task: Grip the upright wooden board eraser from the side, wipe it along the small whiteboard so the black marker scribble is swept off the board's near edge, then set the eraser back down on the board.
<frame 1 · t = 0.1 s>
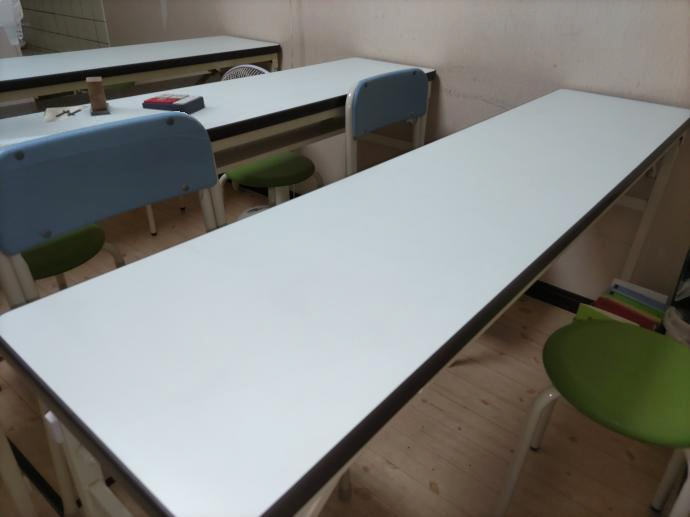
hand: (17, 41, 130), 22 cm above the table, tool pointing down, fingers open, 8 cm apart
marker scribble: (68, 113, 148), point 1 cm above the table, touching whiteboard
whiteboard: (82, 116, 150), on the table
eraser: (100, 111, 151), point 1 cm above the table, touching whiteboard
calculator: (175, 111, 158), on the table
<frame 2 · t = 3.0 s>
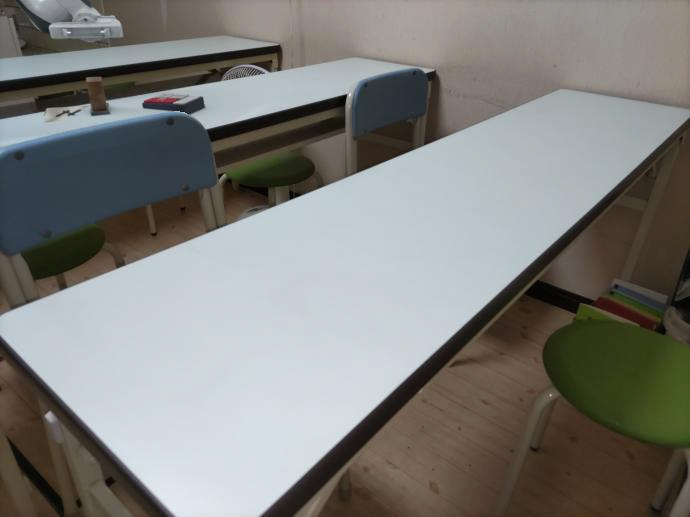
hand: (86, 35, 150), 20 cm above the table, tool horizontal, fingers open, 8 cm apart
nothing on the table moved.
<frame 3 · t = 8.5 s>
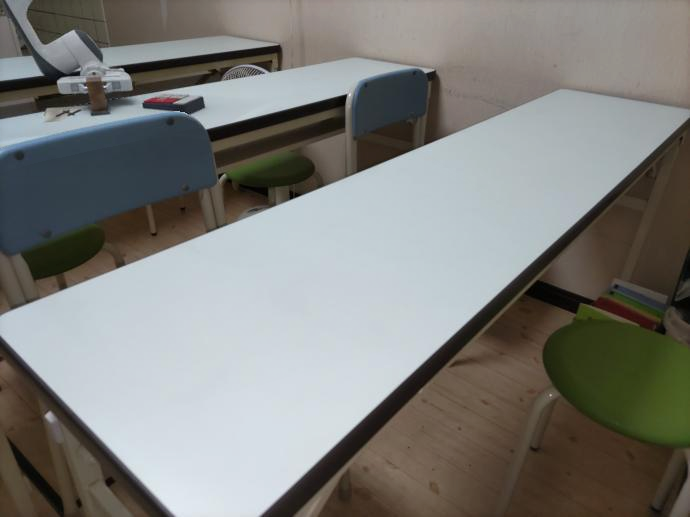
hand: (96, 90, 147), 8 cm above the table, tool horizontal, fingers closed on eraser, 4 cm apart
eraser: (100, 111, 151), point 1 cm above the table, touching gripper, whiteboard
everything else where it was.
when the fingers open (7 cm above the table, at t = 20.2 s): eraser stays where it is, resting on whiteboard.
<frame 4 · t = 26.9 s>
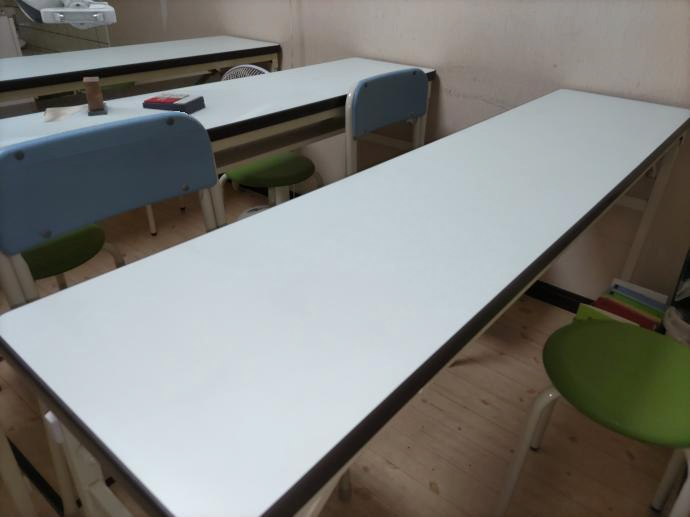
hand: (79, 18, 148), 25 cm above the table, tool horizontal, fingers open, 8 cm apart
marker scribble: (34, 120, 145), on the table
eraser: (97, 111, 150), point 1 cm above the table, touching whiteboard
everything else where it was.
at the end: marker scribble inside the target area (4.2 cm from its centre), on the table; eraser inside the target area (0.7 cm from its centre), point 1.2 cm above the table; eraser tilted 0° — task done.
